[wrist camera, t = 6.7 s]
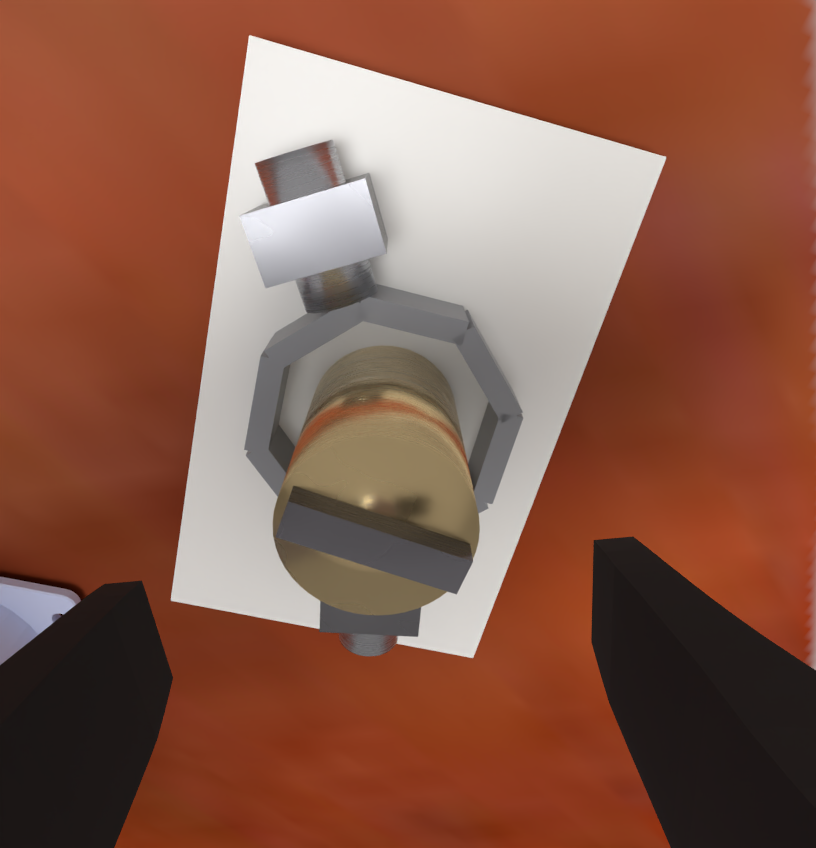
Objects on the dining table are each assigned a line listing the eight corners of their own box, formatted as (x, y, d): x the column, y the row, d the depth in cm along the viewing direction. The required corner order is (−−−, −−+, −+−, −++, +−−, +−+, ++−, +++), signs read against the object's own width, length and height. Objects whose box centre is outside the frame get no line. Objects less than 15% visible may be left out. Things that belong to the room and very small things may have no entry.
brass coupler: (478, 375, 18) (519, 494, 12) (424, 496, 19) (434, 658, 13) (339, 323, 17) (304, 420, 11) (293, 452, 19) (241, 600, 12)
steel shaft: (329, 514, 19) (321, 558, 17) (422, 520, 20) (426, 564, 18) (326, 606, 21) (318, 656, 19) (413, 610, 21) (415, 661, 19)
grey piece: (397, 274, 17) (397, 293, 15) (293, 303, 17) (279, 326, 15) (358, 132, 15) (352, 132, 13) (245, 167, 16) (223, 172, 14)
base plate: (469, 636, 23) (478, 695, 20) (180, 580, 22) (153, 636, 19) (651, 155, 16) (694, 159, 14) (257, 41, 15) (232, 24, 13)
